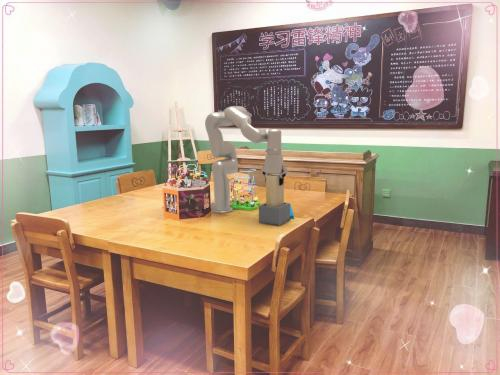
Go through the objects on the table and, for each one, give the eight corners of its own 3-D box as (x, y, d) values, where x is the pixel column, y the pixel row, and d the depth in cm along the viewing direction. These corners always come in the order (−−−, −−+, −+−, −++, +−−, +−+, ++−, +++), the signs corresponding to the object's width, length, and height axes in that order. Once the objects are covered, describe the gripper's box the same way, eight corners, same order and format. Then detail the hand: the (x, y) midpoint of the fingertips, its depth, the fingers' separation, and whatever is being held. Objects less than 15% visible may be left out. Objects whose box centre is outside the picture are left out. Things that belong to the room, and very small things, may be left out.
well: (258, 223, 228) (258, 205, 226) (270, 217, 239) (270, 200, 237) (279, 226, 222) (279, 208, 220) (289, 220, 233) (289, 203, 231)
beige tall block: (273, 210, 235) (273, 173, 231) (284, 212, 230) (284, 174, 226) (264, 213, 229) (264, 175, 225) (275, 215, 224) (275, 176, 220)
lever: (293, 226, 239) (288, 210, 255) (293, 215, 235) (289, 200, 251) (281, 226, 238) (277, 210, 254) (281, 216, 235) (278, 200, 251)
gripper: (256, 152, 224) (257, 184, 228) (285, 153, 215) (285, 187, 219) (263, 151, 231) (263, 182, 234) (292, 152, 222) (291, 184, 225)
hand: (274, 184), depth 226 cm, fingers closed on beige tall block, 7 cm apart
